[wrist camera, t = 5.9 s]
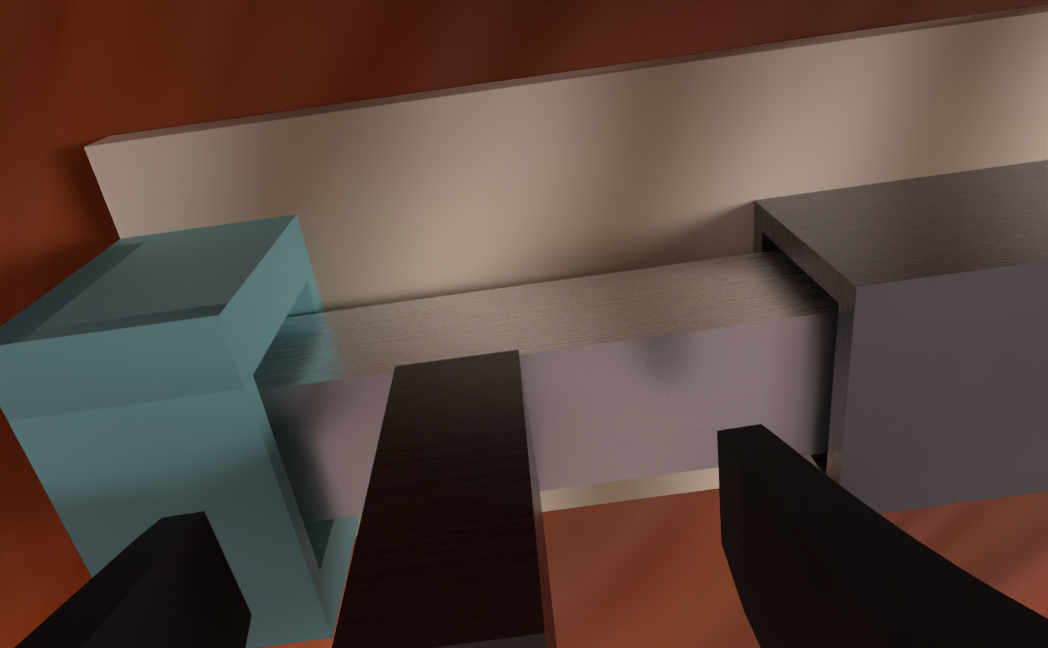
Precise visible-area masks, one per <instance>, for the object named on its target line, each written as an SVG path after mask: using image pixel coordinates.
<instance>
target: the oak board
mask: <svg viewBox="0 0 1048 648" xmlns="http://www.w3.org/2000/svg"><path fill="white" fill-rule="evenodd" d="M84 149H85V151H86V154H87V156H88V159H89V161H90V164H91V166H92V169H93V171H94V174H95V176H96V179H97V181H98V184H99V186H100V189H101V191H102V194H103V196H104V199H105V201H106V204H107V206H108V209H109V211H110V214H111V216H112V219H113V221H114V224H115V226H116V229H117V231H118V234H119V236H120V239H122V238H129V237H136V236H143V235H151V234H158V233H165V232H172V231H179V230H187V229H194V228H201V227H208V226H215V225H223V224H230V223H237V222H244V221H251V220H259V219H266V218H273V217H280V216H287V215H295V214H297V216H298V220H299V224H300V227H301V231H302V234H303V238H304V242H305V245H306V249H307V252H308V256H309V260H310V263H311V267H312V270H313V274H314V277H315V281H316V285H317V288H318V292H319V295H320V299H321V303H322V306H323V310H324V312H330V311H338V310H345V309H352V308H360V307H367V306H374V305H381V304H389V303H396V302H403V301H411V300H418V299H425V298H432V297H440V296H447V295H454V294H462V293H469V292H476V291H483V290H491V289H498V288H505V287H513V286H520V285H527V284H534V283H542V282H549V281H556V280H563V279H571V278H578V277H585V276H593V275H600V274H607V273H614V272H622V271H629V270H636V269H644V268H651V267H658V266H665V265H673V264H680V263H687V262H695V261H702V260H709V259H716V258H724V257H731V256H738V255H746V254H753V238H754V200H760V199H767V198H774V197H781V196H789V195H796V194H803V193H810V192H818V191H825V190H832V189H839V188H847V187H854V186H861V185H868V184H876V183H883V182H890V181H897V180H905V179H912V178H919V177H926V176H934V175H941V174H948V173H955V172H962V171H970V170H977V169H984V168H991V167H999V166H1006V165H1013V164H1020V163H1028V162H1035V161H1042V160H1048V4H1045V5H1038V6H1031V7H1024V8H1017V9H1010V10H1003V11H996V12H988V13H981V14H974V15H967V16H960V17H953V18H946V19H939V20H931V21H924V22H917V23H910V24H903V25H896V26H889V27H882V28H874V29H867V30H860V31H853V32H846V33H839V34H832V35H825V36H818V37H810V38H803V39H796V40H789V41H782V42H775V43H768V44H761V45H753V46H746V47H739V48H732V49H725V50H718V51H711V52H704V53H696V54H689V55H682V56H675V57H668V58H661V59H654V60H647V61H639V62H632V63H625V64H618V65H611V66H604V67H597V68H590V69H582V70H575V71H568V72H561V73H554V74H547V75H540V76H533V77H526V78H518V79H511V80H504V81H497V82H490V83H483V84H476V85H469V86H461V87H454V88H447V89H440V90H433V91H426V92H419V93H412V94H404V95H397V96H390V97H383V98H376V99H369V100H362V101H355V102H347V103H340V104H333V105H326V106H319V107H312V108H305V109H298V110H290V111H283V112H276V113H269V114H262V115H255V116H248V117H241V118H234V119H226V120H219V121H212V122H205V123H198V124H191V125H184V126H177V127H169V128H162V129H155V130H148V131H141V132H134V133H127V134H120V135H112V136H108V137H106V138H103V139H101V140H99V141H97V142H94V143H92V144H90V145H87V146H85V147H84ZM716 488H719V470H718V468H710V469H703V470H695V471H688V472H681V473H673V474H666V475H658V476H651V477H643V478H636V479H628V480H621V481H613V482H606V483H599V484H591V485H584V486H576V487H569V488H561V489H554V490H546V491H540V498H541V507H542V512H545V511H552V510H559V509H567V508H574V507H582V506H589V505H597V504H604V503H612V502H619V501H627V500H634V499H642V498H649V497H657V496H664V495H671V494H679V493H686V492H694V491H701V490H709V489H716ZM361 516H362V515H360V518H359V523H358V527H357V532H356V536H355V537H357V534H358V529H359V525H360V521H361Z"/></svg>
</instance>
